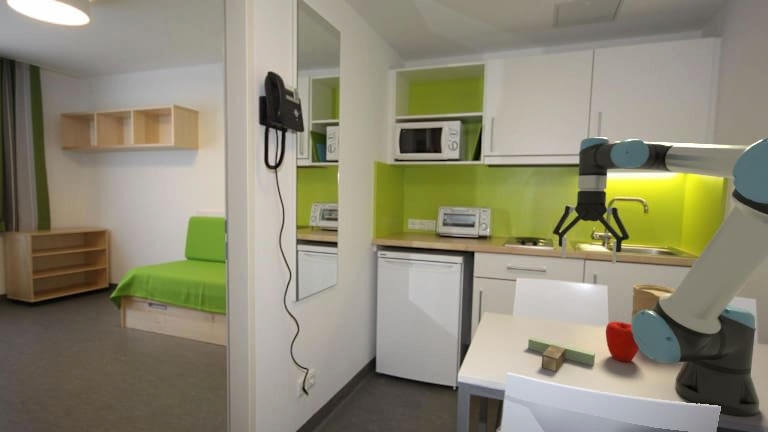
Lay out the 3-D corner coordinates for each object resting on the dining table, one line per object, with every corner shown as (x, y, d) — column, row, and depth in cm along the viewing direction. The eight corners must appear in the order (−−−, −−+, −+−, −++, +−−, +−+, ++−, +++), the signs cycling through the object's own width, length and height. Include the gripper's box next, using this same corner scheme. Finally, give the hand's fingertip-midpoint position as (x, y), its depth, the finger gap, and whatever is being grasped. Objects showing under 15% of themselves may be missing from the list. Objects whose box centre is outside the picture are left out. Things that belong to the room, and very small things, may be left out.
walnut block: (565, 348, 109) (557, 358, 102) (565, 361, 109) (556, 373, 102) (551, 344, 111) (542, 354, 104) (550, 357, 112) (541, 368, 104)
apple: (633, 354, 114) (635, 320, 113) (644, 367, 106) (647, 330, 105) (600, 350, 116) (602, 316, 116) (609, 363, 108) (611, 326, 107)
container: (686, 350, 118) (690, 294, 117) (647, 349, 118) (650, 293, 117) (657, 334, 131) (661, 284, 129) (621, 334, 131) (625, 283, 129)
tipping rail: (594, 362, 108) (594, 352, 108) (593, 365, 106) (593, 355, 106) (530, 346, 119) (530, 337, 119) (528, 348, 117) (528, 339, 117)
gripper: (642, 191, 108) (638, 263, 109) (550, 190, 123) (547, 253, 124) (641, 190, 102) (636, 267, 103) (544, 189, 117) (541, 256, 118)
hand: (587, 260), depth 114 cm, fingers open, 13 cm apart
